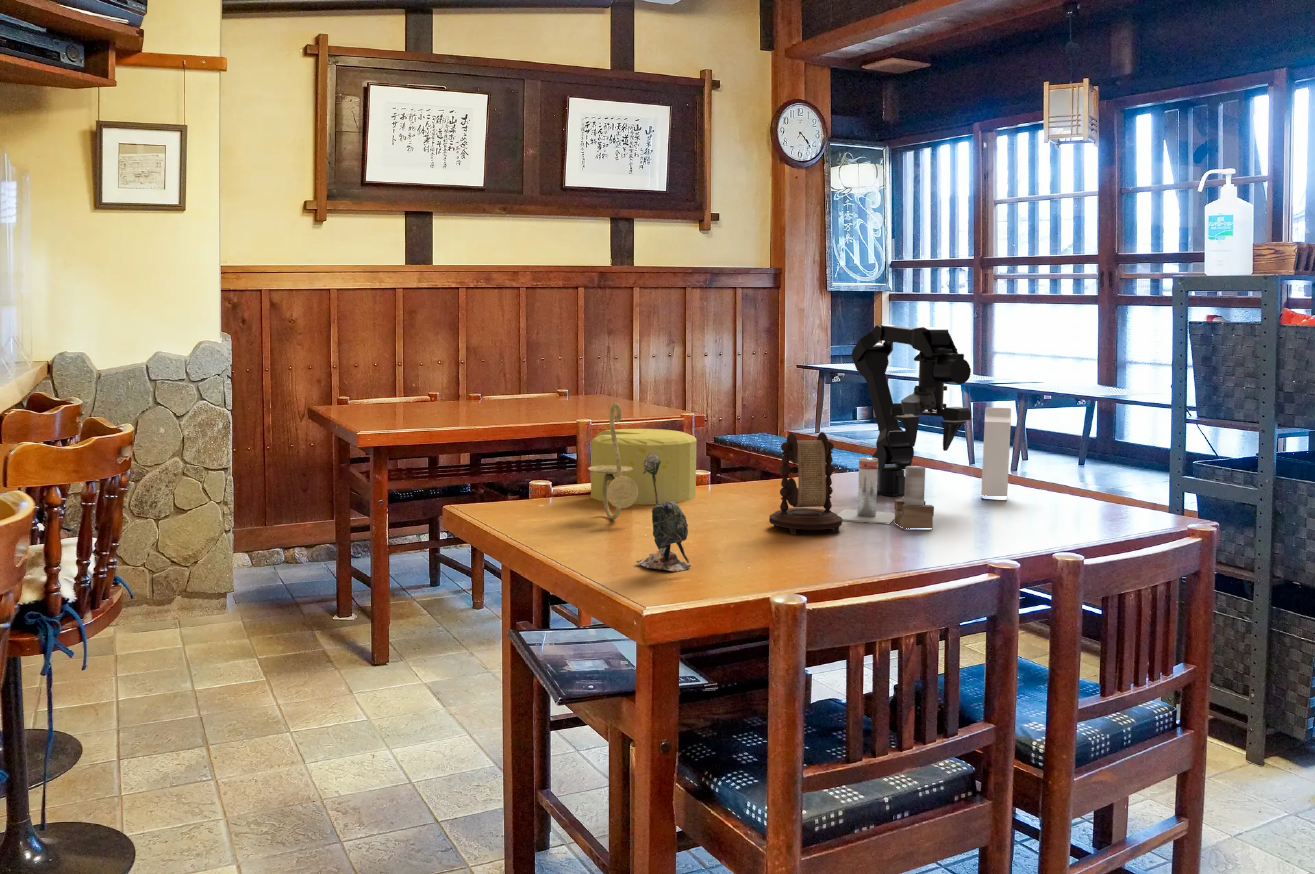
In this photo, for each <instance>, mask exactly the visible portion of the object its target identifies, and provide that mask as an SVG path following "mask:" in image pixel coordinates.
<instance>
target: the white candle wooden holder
mask: <svg viewBox="0 0 1315 874" xmlns="http://www.w3.org/2000/svg"><path fill="white" fill-rule="evenodd" d="M904 476H905V494H904V495H903V496H904V499H894V513H895V520H894V523H896V524H898V525H899V526H901V527H903V529H906V528H907V529H908V528H909V529H910V528H932V529H933V527H934V526H933V525H934V522H933V521H934V519H933V518H934V517H935V506H934V505H933V504H926V500H925V490H926V489H925V486H926V467H924V466H920V465H911V466H906V469H904ZM896 524H895V525H896ZM899 526H898V527H899ZM903 529H902V530H903Z"/></svg>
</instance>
